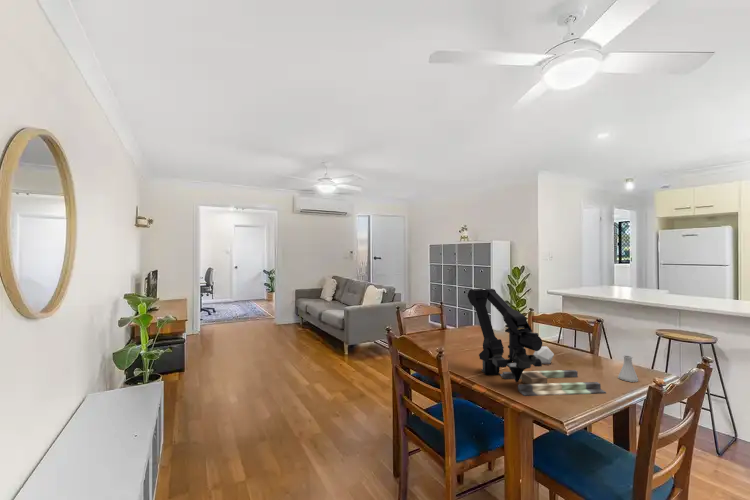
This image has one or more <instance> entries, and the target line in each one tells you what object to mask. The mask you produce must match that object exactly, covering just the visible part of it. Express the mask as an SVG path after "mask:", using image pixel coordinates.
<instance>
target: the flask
mask: <svg viewBox="0 0 750 500" xmlns="http://www.w3.org/2000/svg"><path fill="white" fill-rule="evenodd" d="M622 357H623V364H622V367H621V369H620V371H619V373H618V376H617V379H620V380H622V381H626V382H630V383H634V382H635V383H638V382H639V378H638V375H637V373H636V370H635V368H634V365H633V358H634V357H633V356H632V355H627V354H626V355H623V356H622Z"/></svg>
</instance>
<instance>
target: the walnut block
mask: <svg viewBox="0 0 750 500" xmlns="http://www.w3.org/2000/svg"><path fill="white" fill-rule="evenodd" d="M521 383H523V384H546V383H548V378H547V377H545V376H543V375H542V374H540V373H538V372H525V373H522V379H521Z"/></svg>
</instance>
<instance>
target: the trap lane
mask: <svg viewBox="0 0 750 500" xmlns="http://www.w3.org/2000/svg"><path fill="white" fill-rule="evenodd" d="M525 372H538V373H540V374H542V375H543V376H545V377H547V379H555V378H556V379H558V378H562V379H563V378H565V379H566V378H578V371H577V370H576V369H565V370H564V369H563V370H561V369H560V370H559V369H557V370H524V371H523V372H522V373H525ZM499 376H501V378H502V379H504V380H514V377H513V375H512V372H511V371H502V373H500V375H499ZM519 380H522V374H521V377H520V379H519ZM601 387H602V386H601V383H599V382H598V381H589V382H587V381H586V382H582V381H581V382H553V383H550V382H547V383H546V384H525V383H523V384H522V383H519V384H517V391H518V392H519V393H520V394H521V395H522V396H525V397H527V396H528V397H531V396H532V397H535V396H561V395H565V396H566V395H591V394H593V395H594V394H596V395H597V394H606V393H607V391H605V390H603V389H602V388H601Z"/></svg>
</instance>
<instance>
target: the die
mask: <svg viewBox="0 0 750 500" xmlns="http://www.w3.org/2000/svg"><path fill="white" fill-rule="evenodd" d="M532 355H535V357H537V358H539V359H540V360H541V362H542V365H543V364H545V365H546V364H549V365H551V362H552V360H553V358H554V356H555V353H554V352H553V351H552V350H551V349H550V348H549V347H548V346H547V345H546V346H545V345H542V347H541V349H540V350H539V351H534V352H533V353H532Z"/></svg>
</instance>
